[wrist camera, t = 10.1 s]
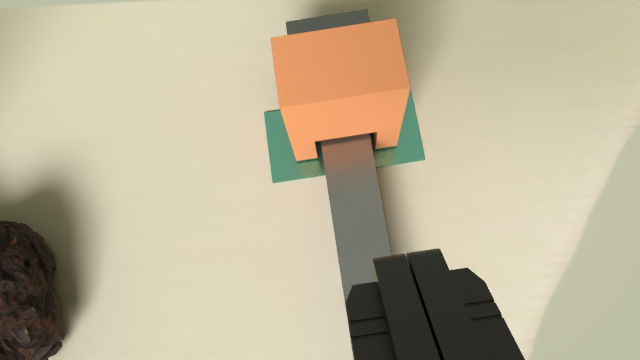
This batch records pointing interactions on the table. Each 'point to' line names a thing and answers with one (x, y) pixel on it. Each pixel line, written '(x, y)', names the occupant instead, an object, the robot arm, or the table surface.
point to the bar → (347, 172)
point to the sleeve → (341, 84)
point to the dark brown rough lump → (27, 296)
